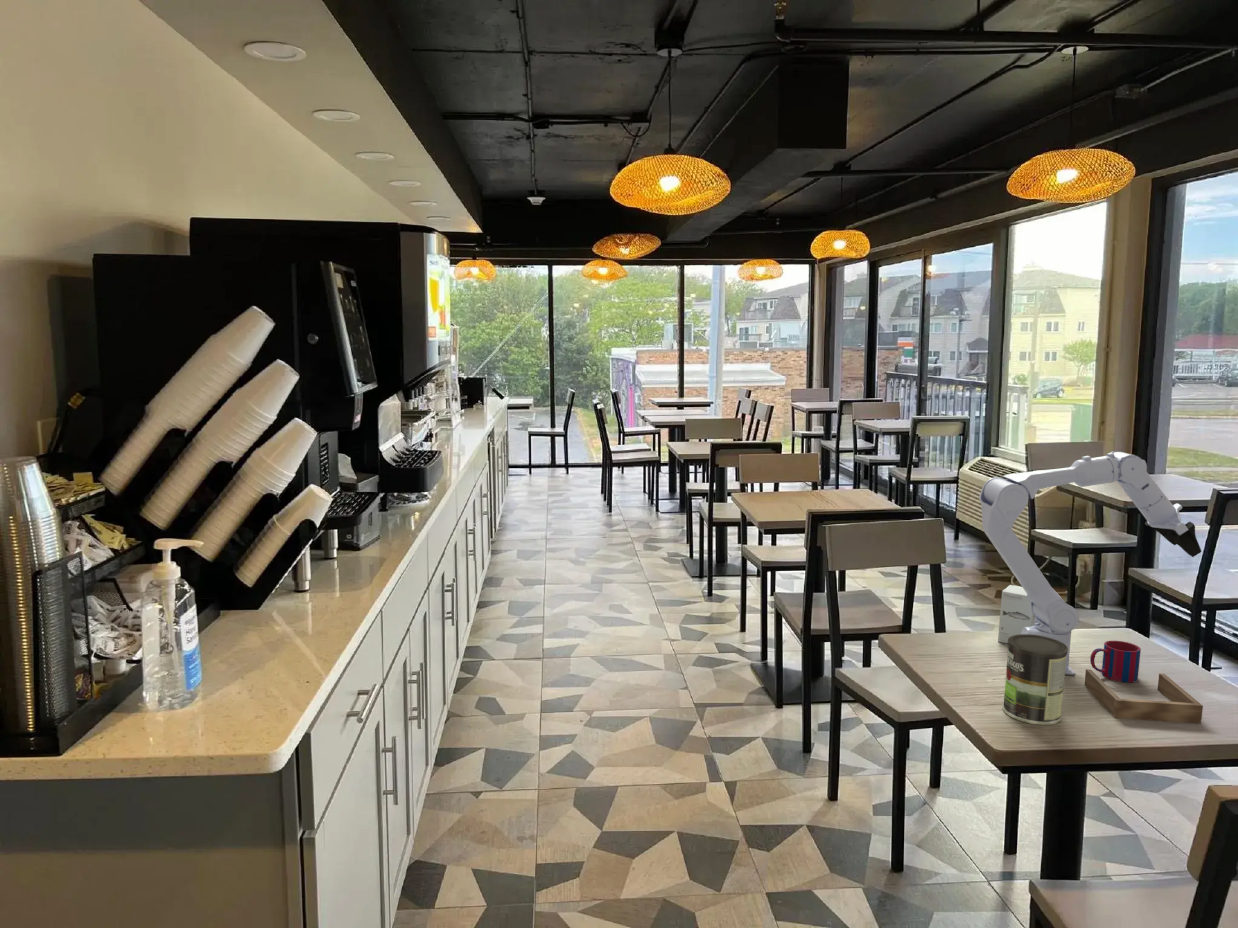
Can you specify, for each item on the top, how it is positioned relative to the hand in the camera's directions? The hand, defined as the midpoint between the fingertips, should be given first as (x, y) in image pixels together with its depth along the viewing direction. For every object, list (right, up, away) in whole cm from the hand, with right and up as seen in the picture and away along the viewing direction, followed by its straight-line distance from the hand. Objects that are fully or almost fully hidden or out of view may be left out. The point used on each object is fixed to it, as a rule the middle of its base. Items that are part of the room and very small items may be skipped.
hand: (1187, 548), depth 183 cm
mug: (-16, -28, 0) cm, 32 cm away
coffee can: (-41, -30, -18) cm, 54 cm away
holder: (-18, -29, -13) cm, 37 cm away
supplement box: (-26, -24, +21) cm, 42 cm away
